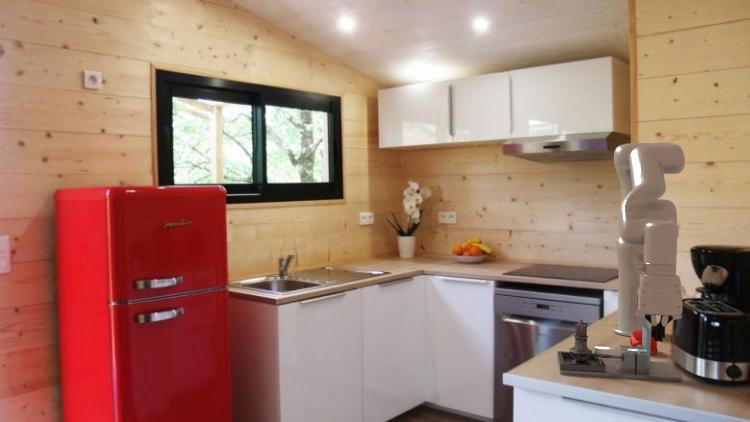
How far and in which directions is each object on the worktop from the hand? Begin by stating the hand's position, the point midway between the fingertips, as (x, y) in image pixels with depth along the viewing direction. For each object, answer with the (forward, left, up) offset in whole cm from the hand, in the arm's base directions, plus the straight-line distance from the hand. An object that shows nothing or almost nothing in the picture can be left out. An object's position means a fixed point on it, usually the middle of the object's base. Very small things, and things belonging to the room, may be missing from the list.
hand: (657, 340), depth 154 cm
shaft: (+1, -9, -7) cm, 11 cm away
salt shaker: (0, -19, -8) cm, 20 cm away
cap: (-17, 0, -9) cm, 19 cm away
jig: (+1, -10, -8) cm, 13 cm away
